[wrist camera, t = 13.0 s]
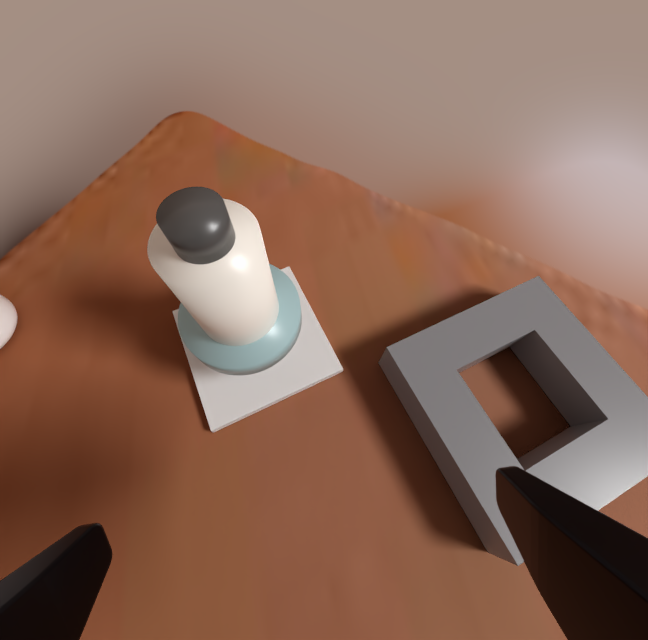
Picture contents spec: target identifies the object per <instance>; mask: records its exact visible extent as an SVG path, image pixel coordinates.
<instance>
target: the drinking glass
mask: <svg viewBox="0 0 648 640" xmlns="http://www.w3.org/2000/svg"><path fill="white" fill-rule="evenodd" d="M17 320H18V316H17V311H16V309H15V307H14V305H13V304H12V303H11V302H10V301H9V300H8V299H7V298H5V297H4V296H2V295H0V349H1V348H2V347H3V346H4V345H5V344H6V343H7V342H8V341H9V339H10V338H11V337H12V335H13V333H14V331H15V329H16V326H17Z"/></svg>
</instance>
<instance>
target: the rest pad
mask: <svg viewBox="0 0 648 640" xmlns="http://www.w3.org/2000/svg"><path fill="white" fill-rule="evenodd" d="M281 271H283V272H284V273H285V274H286V275H287V276H288V277H289V278H290V279H291V281H292V282H293V284H294V285H295V287H296V289H297V292H298V295H299V299H300V306H301V314H302V324H301V330H300V333H299V336H298V339H297V341H296V343H295V345H294V346H293V347H292V349H291V350H290V352H289V353H288V354H287V355H286V356H285V357H284V358H283V359H282V360H281V361H279V362H278V363H277V364H275V365H274V366H272V367H270V368H268V369H266V370H264V371H261V372H258V373H255V374H250V375H242V376H239V375H227V374H223V373H220V372H217V371H215V370H212V369H211V368H209V367H207V366H206V365H205V364H203V363H202V362H201V361H200V360H199V359H198V358H197V357H196V356H195V355H194V354H193V353H192V352H191V351H190V350H189V349H188V348H187V347H186V345H185V344H184V342H183V340H182V338H181V340H182V343H183V346H184V349H185V352H186V355H187V358H188V362H189V365H190V368H191V371H192V374H193V377H194V380H195V383H196V386H197V389H198V392H199V396H200V399H201V402H202V405H203V408H204V411H205V414H206V417H207V420H208V423H209V426H210V430H211V431H212V432H216V431H218V430H220V429H222V428H224V427H226V426H228V425H231V424H233V423H235V422H237V421H239V420H241V419H243V418H245V417H247V416H250V415H252V414H254V413H256V412H258V411H260V410H262V409H264V408H267V407H269V406H271V405H273V404H275V403H277V402H279V401H281V400H284V399H286V398H288V397H290V396H292V395H294V394H296V393H298V392H301V391H303V390H305V389H307V388H309V387H311V386H313V385H315V384H317V383H320V382H322V381H324V380H326V379H328V378H330V377H332V376H334V375H337V374H339V373H341V372H343V368H342V366H341V364H340V362H339V360H338V358H337V356H336V354H335V353H334V351H333V349H332V347H331V345H330V343H329V341H328V339H327V337H326V335H325V334H324V332H323V330H322V328H321V326H320V324H319V322H318V320H317V318H316V316H315V315H314V313H313V311H312V309H311V307H310V305H309V303H308V301H307V299H306V297H305V296H304V294H303V292H302V290H301V288H300V286H299V284H298V282H297V280H296V278H295V277H294V275H293V273H292V271H291V269H290V267H286V268H284V269H281ZM178 311H179V309H177V310H174V311H172V312H173V315H174V318H175V321H176V324H177V328H178ZM178 331H179V328H178ZM179 334H180V333H179ZM180 337H181V335H180Z"/></svg>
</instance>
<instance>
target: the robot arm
mask: <svg viewBox="0 0 648 640" xmlns="http://www.w3.org/2000/svg"><path fill="white" fill-rule="evenodd" d="M495 476H496V501H497V505H498V508H499V510H500V513H501V515H502V517H503V519H504V521H505V523H506V525H507V527H508V529H509V531H510V533H511V535H512V537H513V539H514V542H515V544H516V546H517V548H518V550H519V552H520V554H521V556H522V558H523V560H524V562H525V564H526V566H527V568H528V570H529V572H530V575H531V577H532V578H533V580H534V582H535V584H536V586H537V588H538V590H539V592H540V594H541V595H542V597H543V599H544V601H545V602H546V604H547V606H548V608H549V609H550V611H551V613H552V614H553V616H554V618H555V619H556V621H557V623H558V624H559V626H560V628H561V629H562V631H563V633H564V634H565V636H566V638H567V639H568V640H648V538H646V537H645V536H643V535H641V534H639V533H637V532H635V531H634V530H632V529H630V528H628V527H626V526H625V525H623V524H621V523H619V522H617V521H615V520H614V519H612V518H610V517H608V516H606V515H605V514H603V513H601V512H599V511H597V510H595V509H594V508H592V507H590V506H588V505H586V504H585V503H583V502H581V501H579V500H577V499H575V498H574V497H572V496H570V495H568V494H566V493H565V492H563V491H561V490H559V489H557V488H555V487H554V486H552V485H550V484H548V483H546V482H545V481H543V480H541V479H539V478H537V477H535V476H534V475H532V474H530V473H528V472H526V471H525V470H523V469H521V468H519V467H517V466H509V467H501V468H498V469H497V470H496V474H495ZM111 560H112V549H111V546H110V544H109V541H108V539H107V536H106V534H105V531H104V529H103V527H102V525H100V524H99V523H93V524H85V525H81V526H78V527H77V528H75V529H74V530H72V531H71V532H70V533H68V534H67V535H65V536H64V537H62V538H61V539H60V540H58V541H57V542H55V543H54V544H52V545H51V546H50V547H48V548H47V549H45V550H44V551H42V552H41V553H40V554H38V555H37V556H35V557H34V558H32V559H31V560H30V561H28V562H27V563H25V564H24V565H22V566H21V567H19V568H18V569H17V570H15V571H14V572H12V573H11V574H9V575H8V576H7V577H5V578H4V579H2V580H1V581H0V640H79V639H80V637H81V634H82V632H83V630H84V627H85V625H86V622H87V620H88V617H89V615H90V612H91V610H92V608H93V605H94V603H95V600H96V598H97V595H98V593H99V590H100V588H101V586H102V583H103V581H104V578H105V576H106V573H107V571H108V568H109V566H110V563H111Z"/></svg>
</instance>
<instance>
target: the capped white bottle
mask: <svg viewBox="0 0 648 640" xmlns="http://www.w3.org/2000/svg"><path fill="white" fill-rule="evenodd" d="M156 220H157V224H156V226H155V227H154V229H153V231H152V233H151V235H150V238H149V241H148V247H147V248H148V257H149V261H150V263H151V265H152V267H153V268H154V270H155V271H156V272H157V273H158V275H159V276H160V277H161V278H162V280H163V281H164V282H165V283H166V285H167V286H168V287H169V288H170V290H171V291H172V292H173V293H174V294H175V296H176V297H177V298H178V299H179V301H180V302H181V303H180V306H179V311H178V328H179V333H180V335H181V338H182V340H183V342H184V344H185V345H186V347H187V348H188V349H189V350H190V351H191V352H192V353H193V354H194V355H195V356H196V357H197V358H198V359H199V360H200V361H201V362H202V363H203V364H205V365H206V366H207V367H209V368H211V369H212V370H215V371H217V372H220V373H223V374H227V375H239V376H242V375H250V374H255V373H258V372H261V371H264V370H266V369H268V368H270V367H272V366H274V365H275V364H277V363H278V362H279V361H281V360H282V359H283V358H284V357H285V356H286V355H287V354H288V353H289V352H290V350H291V349H292V347H293V346H294V345H295V343H296V341H297V339H298V336H299V333H300V330H301V324H302V314H301V306H300V299H299V295H298V292H297V289H296V287H295V285H294V284H293V282H292V281H291V279H290V278H289V277H288V276H287V275H286V274H285V273H284V272H283V271H281V270H280V269H278V268H277V267H275V266H273V265H271V264H269V262H268V258H267V254H266V250H265V246H264V242H263V238H262V234H261V230H260V226H259V224H258V221H257V219H256V218H255V216H254V215H253V214H252V213H251V212H250V211H249V210H248V209H247V208H246V207H244V206H243V205H241V204H239V203H237V202H234V201H231V200H227V199H222V197H221V196H220V195H219V194H218V193H217V192H215V191H213V190H211V189H208V188H204V187H189V188H184V189H181V190H178V191H176V192H174V193H172V194H171V195H169V196H168V197H167V198H165V199H164V200H163V202H162V203H161V204H160V206H159V208H158V210H157V214H156Z"/></svg>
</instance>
